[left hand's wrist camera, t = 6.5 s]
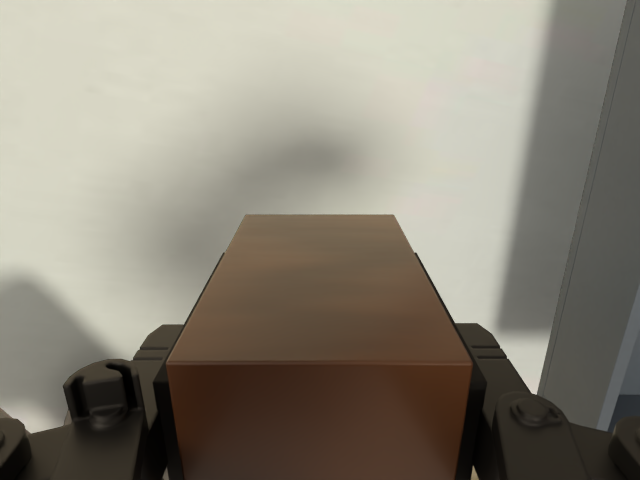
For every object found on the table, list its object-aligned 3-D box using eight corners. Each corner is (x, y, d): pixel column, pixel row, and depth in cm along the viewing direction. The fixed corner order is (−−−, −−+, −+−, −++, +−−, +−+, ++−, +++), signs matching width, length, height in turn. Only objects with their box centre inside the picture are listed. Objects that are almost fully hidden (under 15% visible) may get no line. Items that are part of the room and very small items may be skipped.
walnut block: (394, 214, 14) (475, 362, 7) (386, 341, 16) (443, 568, 9) (245, 214, 14) (164, 362, 7) (253, 340, 16) (195, 568, 9)
